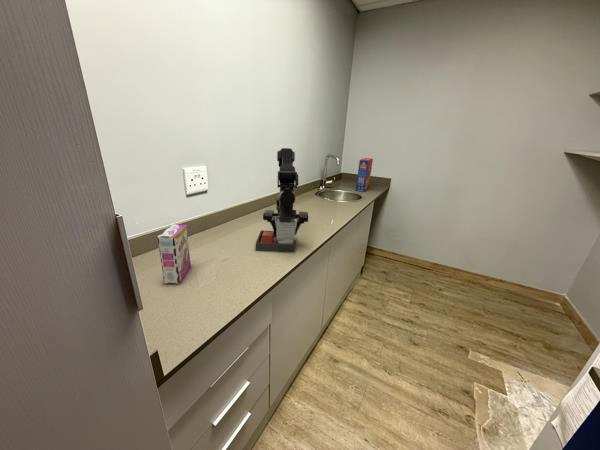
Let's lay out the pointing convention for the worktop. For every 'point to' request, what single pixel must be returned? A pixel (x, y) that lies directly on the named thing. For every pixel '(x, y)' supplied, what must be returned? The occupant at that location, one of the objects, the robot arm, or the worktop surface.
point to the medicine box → (285, 230)
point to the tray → (275, 244)
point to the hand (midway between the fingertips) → (285, 234)
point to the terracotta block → (267, 237)
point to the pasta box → (364, 174)
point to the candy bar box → (174, 253)
